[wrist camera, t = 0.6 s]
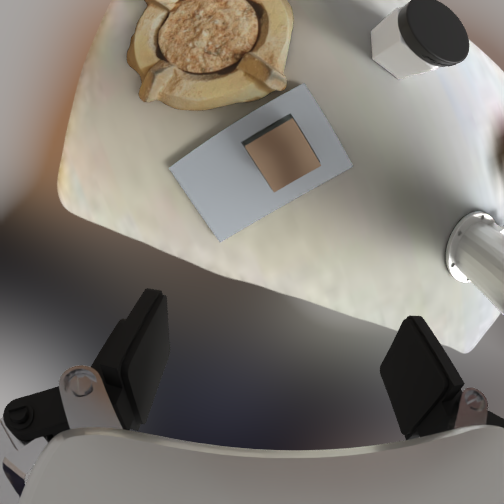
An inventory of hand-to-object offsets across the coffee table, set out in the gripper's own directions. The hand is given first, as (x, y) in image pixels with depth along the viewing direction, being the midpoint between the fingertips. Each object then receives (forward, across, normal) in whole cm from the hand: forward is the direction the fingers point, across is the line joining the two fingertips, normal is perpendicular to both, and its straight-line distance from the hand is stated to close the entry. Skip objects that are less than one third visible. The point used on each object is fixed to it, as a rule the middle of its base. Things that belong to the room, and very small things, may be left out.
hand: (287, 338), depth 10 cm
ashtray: (+29, +10, -20) cm, 37 cm away
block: (+28, -1, -5) cm, 29 cm away
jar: (+28, -15, -23) cm, 39 cm away
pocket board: (+28, +2, -3) cm, 29 cm away
